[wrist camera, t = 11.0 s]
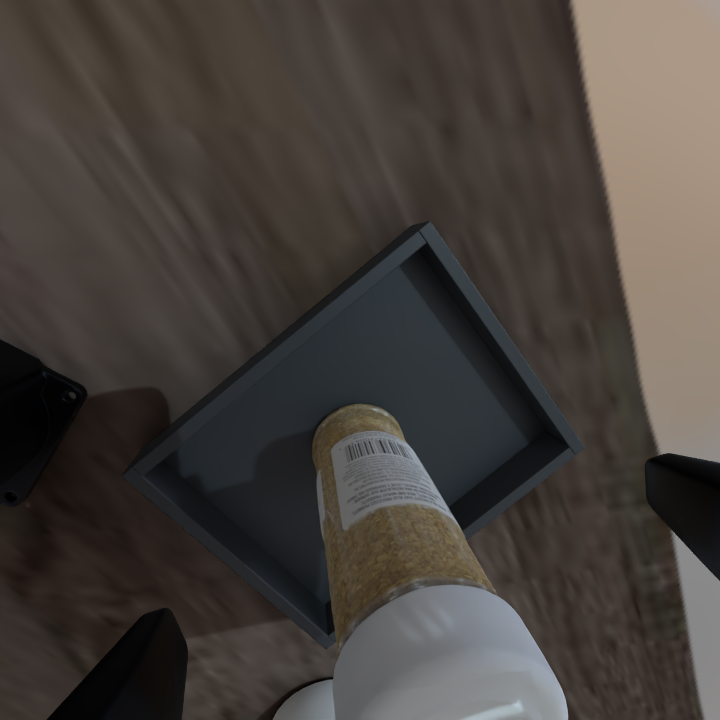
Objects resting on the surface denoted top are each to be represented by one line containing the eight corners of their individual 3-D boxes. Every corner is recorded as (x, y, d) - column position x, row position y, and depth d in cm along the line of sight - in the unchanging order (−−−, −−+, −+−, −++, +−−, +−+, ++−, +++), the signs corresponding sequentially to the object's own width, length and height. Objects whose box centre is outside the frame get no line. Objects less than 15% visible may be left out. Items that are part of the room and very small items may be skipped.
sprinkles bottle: (299, 473, 21) (306, 846, 8) (329, 388, 20) (396, 646, 7) (385, 494, 22) (518, 856, 9) (417, 414, 21) (619, 682, 8)
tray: (323, 609, 23) (326, 650, 21) (141, 448, 20) (120, 476, 17) (554, 427, 23) (585, 448, 20) (413, 224, 19) (430, 220, 16)
